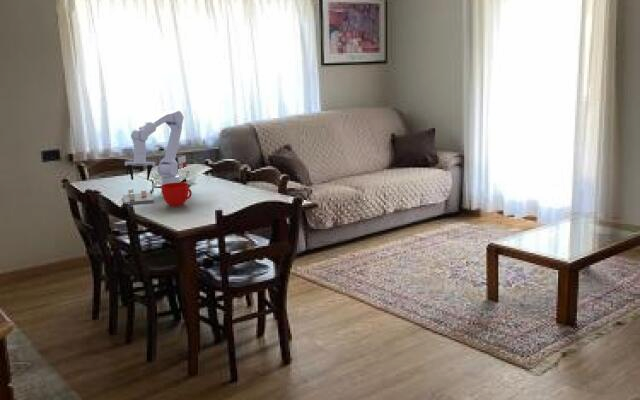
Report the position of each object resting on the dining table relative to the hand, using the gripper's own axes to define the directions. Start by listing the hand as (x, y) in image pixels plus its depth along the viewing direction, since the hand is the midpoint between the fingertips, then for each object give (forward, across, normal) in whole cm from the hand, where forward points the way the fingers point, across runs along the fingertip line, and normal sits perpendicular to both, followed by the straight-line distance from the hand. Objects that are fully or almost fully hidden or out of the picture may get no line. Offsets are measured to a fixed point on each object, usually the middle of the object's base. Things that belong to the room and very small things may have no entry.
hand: (140, 179), depth 307 cm
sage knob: (+9, -3, -6) cm, 11 cm away
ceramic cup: (+11, +20, -17) cm, 29 cm away
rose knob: (+8, +2, +1) cm, 9 cm away
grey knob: (+8, -5, +6) cm, 12 cm away
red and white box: (+6, +18, +47) cm, 51 cm away
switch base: (+10, -1, 0) cm, 10 cm away
